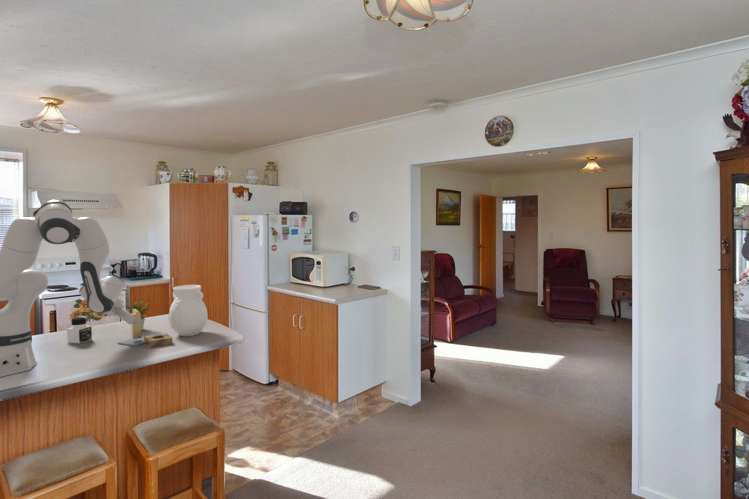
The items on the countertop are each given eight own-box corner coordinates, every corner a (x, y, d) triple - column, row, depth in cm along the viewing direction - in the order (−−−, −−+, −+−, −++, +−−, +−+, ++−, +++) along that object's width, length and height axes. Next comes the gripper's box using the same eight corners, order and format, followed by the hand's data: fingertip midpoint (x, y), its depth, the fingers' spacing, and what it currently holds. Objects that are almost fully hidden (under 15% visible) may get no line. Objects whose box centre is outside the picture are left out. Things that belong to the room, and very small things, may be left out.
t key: (134, 340, 203) (133, 312, 202) (130, 336, 210) (129, 309, 209) (142, 339, 206) (141, 311, 205) (138, 335, 212) (138, 308, 211)
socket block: (149, 347, 200) (149, 341, 199) (144, 342, 207) (144, 336, 207) (172, 343, 206) (172, 337, 206) (166, 339, 214) (166, 333, 213)
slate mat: (134, 346, 201) (134, 345, 201) (118, 343, 205) (118, 342, 205) (154, 340, 211) (154, 339, 211) (138, 337, 215) (138, 336, 215)
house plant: (129, 335, 219) (128, 304, 218) (115, 331, 226) (114, 301, 225) (156, 329, 231) (155, 299, 230) (141, 325, 239) (140, 296, 237)
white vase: (160, 337, 217) (159, 288, 215) (186, 328, 234) (185, 283, 232) (191, 340, 211) (190, 290, 209) (215, 331, 229) (214, 284, 227)
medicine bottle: (79, 344, 204) (78, 319, 203) (67, 342, 206) (66, 318, 205) (92, 339, 211) (91, 315, 210) (80, 338, 213) (79, 315, 212)
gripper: (122, 304, 194) (147, 322, 201) (114, 298, 209) (137, 315, 216) (111, 316, 191) (136, 333, 198) (104, 308, 207) (128, 325, 214)
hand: (137, 323), depth 208 cm, fingers closed on t key, 4 cm apart
